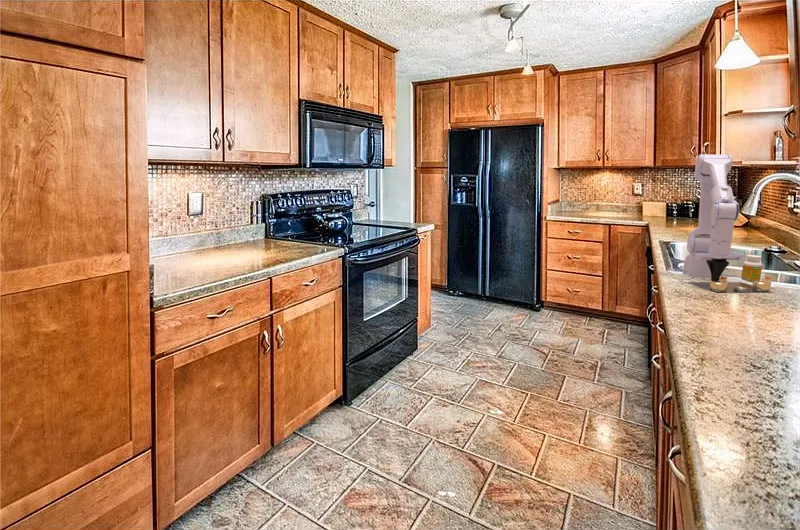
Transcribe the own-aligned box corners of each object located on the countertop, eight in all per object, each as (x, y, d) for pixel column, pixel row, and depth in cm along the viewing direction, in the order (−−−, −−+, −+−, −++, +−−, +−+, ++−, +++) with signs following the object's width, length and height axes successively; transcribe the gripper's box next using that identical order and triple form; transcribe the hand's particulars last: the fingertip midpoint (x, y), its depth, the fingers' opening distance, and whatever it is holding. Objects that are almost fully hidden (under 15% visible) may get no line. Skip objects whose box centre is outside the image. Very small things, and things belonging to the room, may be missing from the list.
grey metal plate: (686, 286, 162) (687, 278, 161) (740, 286, 163) (741, 278, 162) (715, 297, 148) (716, 289, 147) (773, 297, 149) (775, 288, 148)
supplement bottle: (751, 285, 164) (755, 257, 162) (736, 281, 169) (740, 254, 167) (763, 284, 166) (767, 257, 164) (748, 281, 171) (752, 254, 169)
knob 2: (767, 292, 148) (769, 283, 147) (750, 289, 151) (751, 280, 150) (776, 286, 155) (777, 277, 155) (759, 284, 158) (761, 275, 158)
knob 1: (725, 292, 147) (726, 283, 146) (708, 290, 150) (709, 280, 149) (731, 286, 155) (732, 277, 155) (715, 284, 158) (716, 275, 158)
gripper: (707, 242, 148) (701, 284, 151) (752, 242, 149) (745, 284, 152) (692, 239, 155) (687, 279, 158) (735, 239, 156) (729, 280, 159)
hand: (714, 282), depth 155 cm, fingers closed, pressing on knob 1
